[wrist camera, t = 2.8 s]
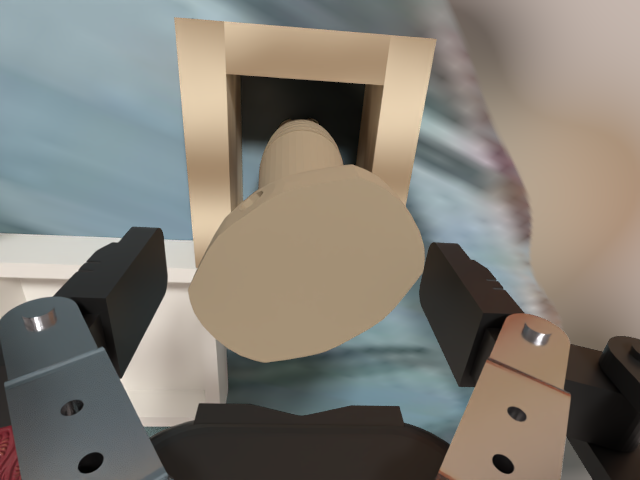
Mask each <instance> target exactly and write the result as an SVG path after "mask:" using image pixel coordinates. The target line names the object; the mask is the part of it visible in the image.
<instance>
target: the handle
mask: <svg viewBox="0 0 640 480" xmlns="http://www.w3.org/2000/svg"><path fill="white" fill-rule="evenodd" d="M424 260H425V258H424V245H423V241H422V238H421V234H420V231H419V229H418V227H417V225H416V223H415V222H414V220H413V218H412V216H411V214H410V213H409V211H408V209H407V208H406V206H405V205H404V203H403V202H402V201H401V200H400V198H399V197H398V196H397V194H396V193H395V192H394V191H393V189H392V188H391V187H390V186H388V185H387V184H386V183H385V182H384V181H383V180H382V179H381V178H380V177H378V176H377V175H375V174H373V173H371V172H369V171H367V170H366V169H363V168H360V167H358V166H355V165H352V164H351V165H343V161H342V157H341V155H340V152H339V149H338V147H337V145H336V143H335V141H334V140H333V138H332V137H331V136H330V134H329V133H328V132H327V131H326V130H325V129H324V128H323V127H322V126H320V125H319V123H318V121H316V120H315V119H313V118H308V119H306V120H305V119H296V120H292V119H287V120H285V121H283V122H282V123H281V124H280V126H279V127H278V129H277V130H276V132H275V133H274V134H273V135H272V137H271V138H270V140H269V142H268V144H267V146H266V148H265V150H264V153H263V156H262V159H261V164H260V171H259V187H258V190H257V191H255V192H254V193H253V194H252V195H250V196H249V197H248V198H247V199H246V200H244V201H243V202H242V203H241V204H240V205H239V206H238V207H236V208H235V209H234V210H233V211H232V212H231V213H230V214H229V215H228V216H226V217H225V219H224V220H223V222H222V223H221V225H220V227H219V228H218V230H217V231H216V233H215V235H214V236H213V238H212V240H211V242H210V244H209V246H208V248H207V250H206V252H205V254H204V256H203V258H202V260H201V262H200V264H199V266H198V268H197V270H196V272H195V275H194V277H193V279H192V281H191V284H190V286H189V288H188V294H189V299H190V303H191V306H192V308H193V311H194V314H195V315H196V317H197V318H198V320H199V321H200V322H201V324H202V325H203V327H204V328H205V329H206V330H207V331H208V332H209V333H210V334H211V335H212V336H213V337H214V338H215V339H216V340H218V341H219V342H220V343H221V344H223V345H224V346H225V347H227V348H228V349H230V350H232V351H233V352H235V353H237V354H239V355H241V356H243V357H246V358H249V359H252V360H255V361H260V362H264V363H267V362H273V361H280V360H287V359H293V358H299V357H305V356H310V355H314V354H318V353H322V352H325V351H328V350H330V349H332V348H334V347H337V346H339V345H341V344H343V343H344V342H346V341H348V340H350V339H352V338H353V337H355V336H357V335H359V334H361V333H363V332H364V331H366V330H368V329H370V328H371V327H373V326H374V325H376V324H377V323H378V322H380V321H381V320H383V319H384V318H385V317H386V316H387V315H388V314H389V313H390V312H391V311H392V310H393V309H394V308H395V307H396V306H397V304H398V303H399V302H400V301H401V300H402V298H403V297H404V296H405V295H406V293H407V292H408V291H409V290H410V288H411V287H412V286H413V284H414V283H415V282H416V281H417V279H418V278H419V277H420V275H421V274H422V273H423V268H424Z"/></svg>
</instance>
